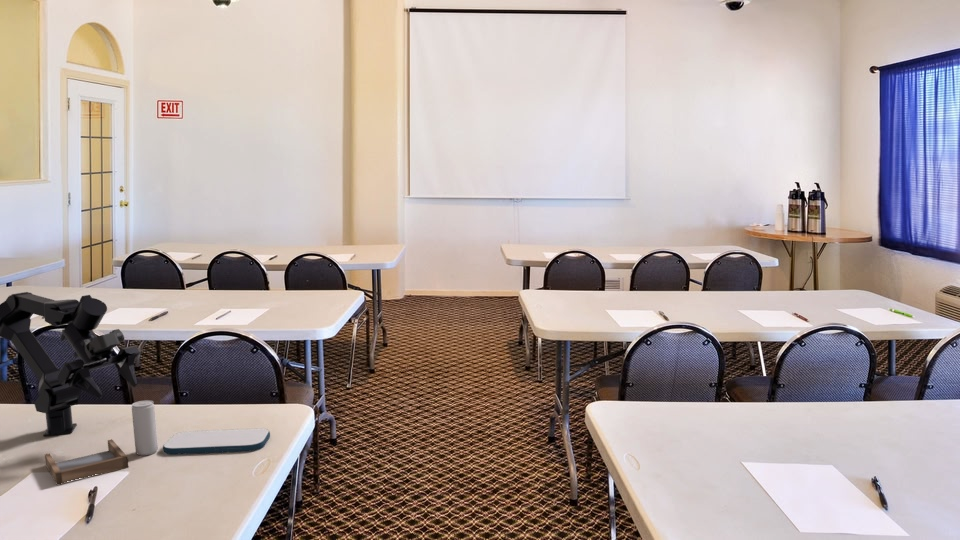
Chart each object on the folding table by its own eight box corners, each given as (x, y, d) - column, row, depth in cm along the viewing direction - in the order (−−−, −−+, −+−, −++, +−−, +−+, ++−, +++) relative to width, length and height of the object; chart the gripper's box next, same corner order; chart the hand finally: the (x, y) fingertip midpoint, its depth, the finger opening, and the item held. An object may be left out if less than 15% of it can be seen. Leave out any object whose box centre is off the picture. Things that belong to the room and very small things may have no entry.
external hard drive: (272, 435, 182) (272, 427, 182) (262, 453, 171) (261, 444, 170) (176, 439, 181) (176, 431, 180) (159, 457, 169) (158, 449, 169)
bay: (45, 465, 165) (44, 454, 164) (113, 449, 173) (112, 439, 173) (57, 485, 154) (56, 473, 154) (128, 467, 163) (127, 456, 162)
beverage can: (149, 457, 168) (145, 407, 167) (131, 455, 169) (126, 406, 168) (162, 449, 173) (158, 400, 171) (144, 448, 174) (140, 399, 172)
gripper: (59, 328, 165) (95, 381, 161) (132, 313, 181) (166, 361, 178) (42, 359, 170) (77, 410, 166) (114, 341, 186) (147, 388, 182)
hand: (119, 391), depth 173 cm, fingers open, 9 cm apart
